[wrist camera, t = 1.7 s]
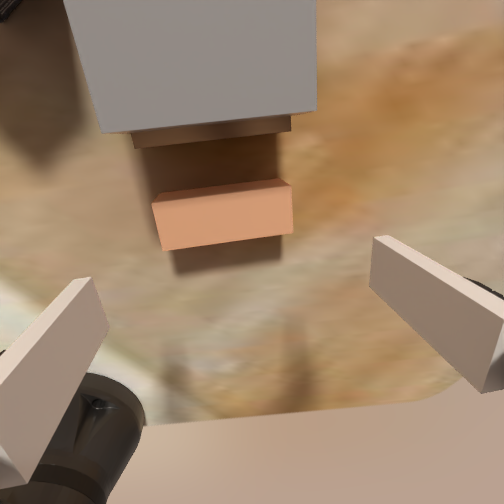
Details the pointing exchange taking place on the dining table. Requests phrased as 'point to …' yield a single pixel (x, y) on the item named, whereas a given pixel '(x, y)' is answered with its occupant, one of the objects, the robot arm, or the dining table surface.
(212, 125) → the bed
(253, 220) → the block
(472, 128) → the dining table surface
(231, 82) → the slab
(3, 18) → the small box
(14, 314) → the dining table surface
